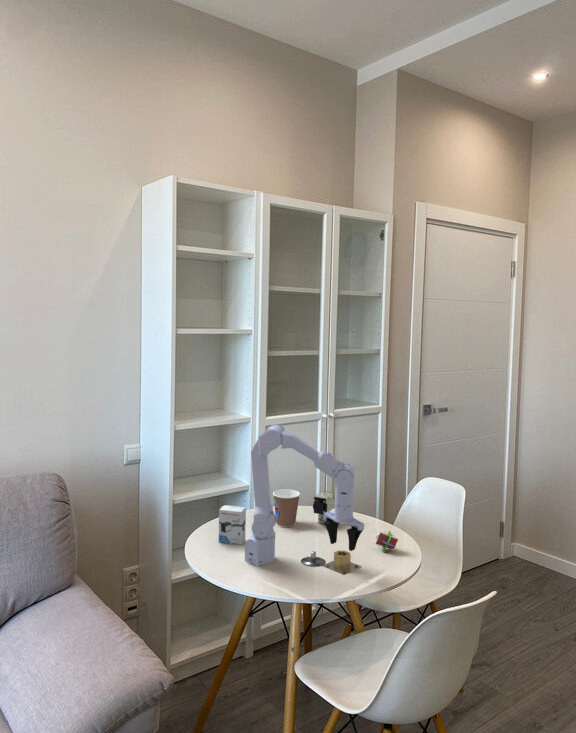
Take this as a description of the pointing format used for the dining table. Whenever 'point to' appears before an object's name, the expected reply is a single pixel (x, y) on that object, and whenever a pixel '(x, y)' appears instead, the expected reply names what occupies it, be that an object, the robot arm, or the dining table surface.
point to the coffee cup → (286, 507)
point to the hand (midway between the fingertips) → (342, 546)
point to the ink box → (232, 524)
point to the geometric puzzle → (386, 541)
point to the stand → (313, 561)
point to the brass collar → (342, 559)
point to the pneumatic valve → (323, 504)
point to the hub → (342, 571)
